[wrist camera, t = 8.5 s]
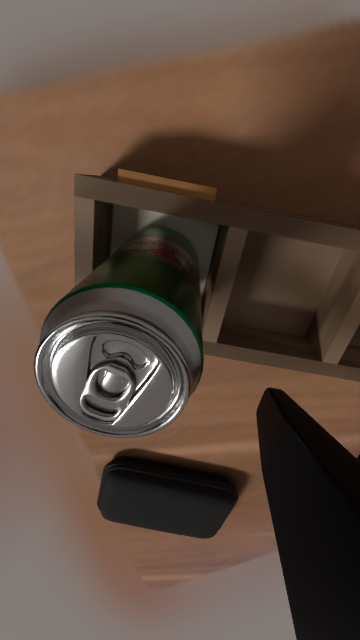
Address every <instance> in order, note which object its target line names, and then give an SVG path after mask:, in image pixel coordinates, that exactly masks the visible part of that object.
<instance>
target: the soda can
mask: <svg viewBox="0 0 360 640" xmlns="http://www.w3.org/2000/svg"><path fill="white" fill-rule="evenodd" d="M203 363H204V356H203V335H202V315H201V294H200V274H199V260H198V256H197V253H196V251H195V248H194V247H193V245H192V244H191V242H190V241H189V240H188V239H187V238H186V237H185V236H183V235H182V234H181V233H179V232H177V231H175V230H173V229H170V228H166V227H150V228H147V229H144V230H142V231H140V232H138V233H137V234H135V235H134V236H133V237H132V238H131V239H129V240H128V241H127V242H126V243H125V244H124V245H122V246H121V247H120V248H119V249H118V250H117V251H116V252H114V253H113V254H112V255H111V256H110V257H109V258H108V259H106V260H105V261H104V262H103V263H102V264H101V265H100V266H98V267H97V268H96V269H95V270H94V271H93V272H91V273H90V274H89V275H88V276H87V277H86V278H85V279H83V280H82V281H81V282H80V283H79V284H78V285H77V286H75V287H74V288H73V289H72V290H71V291H70V292H68V293H67V294H66V295H65V296H64V297H63V298H62V299H60V300H59V301H58V302H57V303H56V305H55V306H54V307H53V308H52V309H51V310H50V312H49V313H48V315H47V317H46V318H45V321H44V323H43V326H42V329H41V335H40V343H39V346H38V349H37V351H36V354H35V360H34V373H35V378H36V382H37V385H38V387H39V389H40V391H41V393H42V395H43V396H44V398H45V399H46V401H47V402H48V403H49V404H50V406H51V407H52V408H53V409H54V410H55V411H56V412H57V413H59V414H60V415H61V416H62V417H63V418H65V419H66V420H68V421H69V422H70V423H72V424H74V425H76V426H78V427H80V428H82V429H84V430H87V431H89V432H92V433H96V434H99V435H103V436H109V437H118V438H131V437H139V436H145V435H148V434H152V433H154V432H157V431H159V430H161V429H163V428H165V427H166V426H168V425H169V424H171V423H172V422H173V421H174V420H175V419H176V418H177V417H178V416H179V415H180V414H181V412H182V411H183V409H184V408H185V406H186V404H187V402H188V399H189V397H190V396H191V394H192V393H193V392H194V391H195V389H196V387H197V385H198V383H199V381H200V378H201V375H202V372H203Z"/></svg>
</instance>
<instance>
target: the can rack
mask: <svg viewBox="0 0 360 640" xmlns="http://www.w3.org/2000/svg"><path fill="white" fill-rule="evenodd" d="M216 192H217V188H213V187H208V186H203V185H198V184H193V183H188V182H183V181H178V180H173V179H168V178H163V177H158V176H154V175H149V174H144V173H139V172H134V171H129V170H123V169H118V179H114V178H109V177H104V176H96V175H83V174H75V286H77V285H78V284H79V283H80V282H81V281H82V280H83V279H85V278H86V277H87V276H88V275H89V274H90V273H91V272H93V271H94V270H95V269H96V268H97V267H98V266H100V265H101V264H102V263H103V262H104V261H105V260H106V259H108V258H109V257H110V256H111V255H112V254H113V253H114V252H116V251H117V250H118V249H119V248H120V247H121V246H122V245H124V244H125V243H126V242H127V241H128V240H129V239H131V238H132V237H133V236H134V235H135V234H137V233H138V232H140V231H142V230H144V229H147V228H150V227H166V228H170V229H173V230H175V231H177V232H179V233H181V234H182V235H183V236H185V237H186V238H187V239H188V240H189V241H190V242H191V244H192V245H193V247H194V248H195V251H196V253H197V256H198V260H199V274H200V294H201V315H202V335H203V354H205V355H211V356H217V357H222V358H228V359H234V360H240V361H245V362H251V363H257V364H262V365H268V366H274V367H279V368H285V369H291V370H296V371H302V372H308V373H313V374H319V375H325V376H330V377H336V378H342V379H347V380H353V381H359V382H360V227H355V226H350V225H345V224H340V223H335V222H330V221H325V220H320V219H314V218H309V217H304V216H299V215H294V214H289V213H284V212H279V211H274V210H269V209H264V208H259V207H254V206H249V205H244V204H239V203H234V202H229V201H224V200H219V199H215V197H216Z"/></svg>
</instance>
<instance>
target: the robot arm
mask: <svg viewBox="0 0 360 640" xmlns="http://www.w3.org/2000/svg"><path fill="white" fill-rule="evenodd" d="M256 416H257V427H258V437H259V448H260V458H261V466H262V473H263V478H264V483H265V488H266V493H267V498H268V503H269V507H270V512H271V517H272V522H273V527H274V532H275V537H276V541H277V546H278V551H279V556H280V561H281V566H282V570H283V576H284V580H285V585H286V590H287V595H288V600H289V605H290V610H291V614H292V619H293V624H294V629H295V634H296V639H297V640H360V456H359V457H358V459H356V458H355V457H354V456H353V455H352V454H351V453H350V452H349V451H348V450H347V449H345V448H344V447H343V446H342V445H341V444H340V443H339V442H338V441H337V440H336V439H335V438H334V437H332V436H331V435H330V434H329V433H328V432H327V431H326V430H325V429H324V428H323V427H322V426H321V425H319V424H318V423H317V422H316V421H315V420H314V419H313V418H312V417H311V416H310V415H309V414H308V413H307V412H305V411H304V410H303V409H302V408H301V407H300V406H299V405H298V404H297V403H296V402H295V401H294V400H292V399H291V398H290V397H289V396H288V395H287V394H286V393H285V392H284V391H283V390H281V389H275V388H267V389H266V390H265V391H264V394H263V396H262V398H261V401H260V403H259V405H258V408H257V414H256Z"/></svg>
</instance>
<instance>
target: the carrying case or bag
mask: <svg viewBox="0 0 360 640" xmlns="http://www.w3.org/2000/svg"><path fill="white" fill-rule="evenodd" d="M237 500H238V491H237V488H236V487H235V485H234V484H232V483H231V482H230V481H229V480H228V479H226V478H224V477H222V476H218V475H213V474H209V473H204V472H200V471H195V470H190V469H186V468H181V467H176V466H171V465H166V464H161V463H156V462H151V461H146V460H141V459H136V458H131V457H118V458H116V459H114V460H112V461H110V462H109V463H108V464H107V465H106V466H105V467H104V470H103V474H102V479H101V484H100V490H99V495H98V500H97V505H98V508H99V510H100V511H101V514H102V516H103V517H104V518H105V519H107V520H109V521H113V522H117V523H122V524H127V525H132V526H137V527H142V528H147V529H152V530H157V531H163V532H168V533H174V534H179V535H185V536H190V537H196V538H211V537H213V536H214V535H215V534H216V533H217V531H218V530H219V529H220V528H221V526H222V524H223V523H224V521H225V520H226V518H227V516H228V515H229V513H230V511H231V510H232V508H233V507H234V505H235V503H236V502H237Z"/></svg>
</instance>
